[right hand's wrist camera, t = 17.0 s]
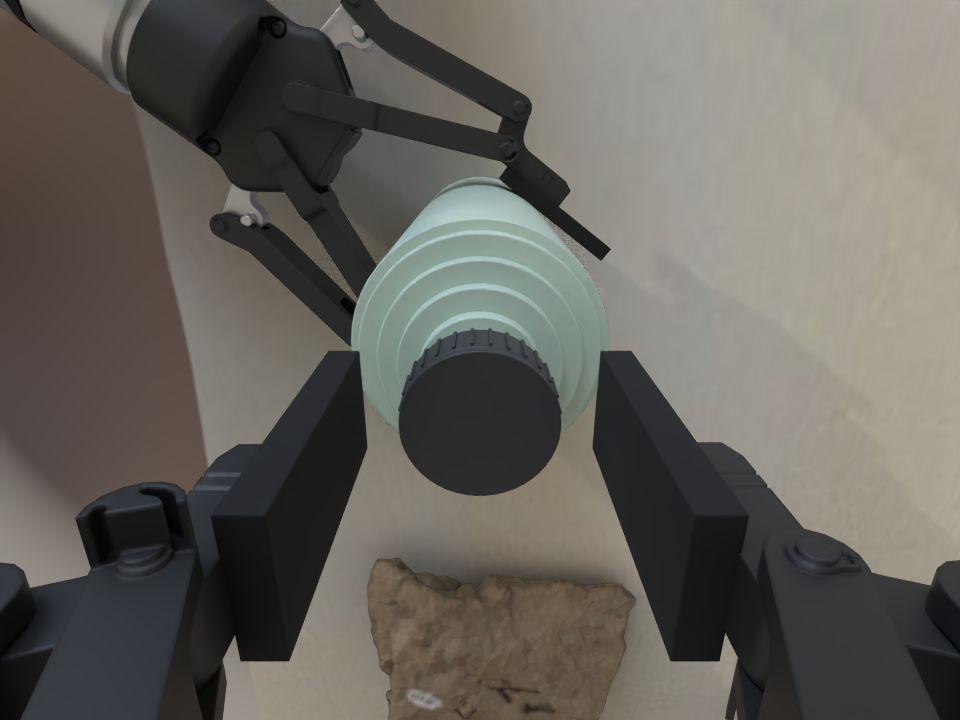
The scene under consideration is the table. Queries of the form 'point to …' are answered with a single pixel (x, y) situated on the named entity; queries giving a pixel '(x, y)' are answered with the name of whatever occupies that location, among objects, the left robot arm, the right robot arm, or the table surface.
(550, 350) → the bottle
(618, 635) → the stone
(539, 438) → the cap
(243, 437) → the table surface
